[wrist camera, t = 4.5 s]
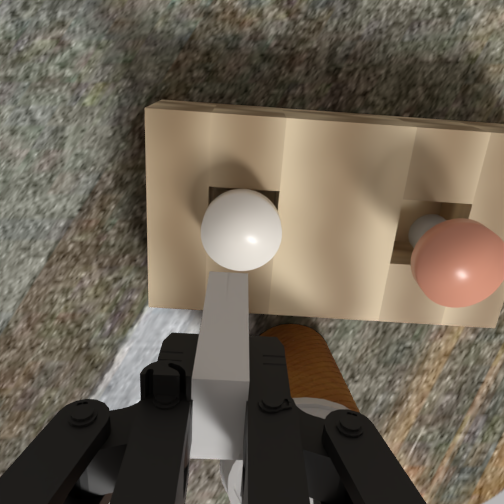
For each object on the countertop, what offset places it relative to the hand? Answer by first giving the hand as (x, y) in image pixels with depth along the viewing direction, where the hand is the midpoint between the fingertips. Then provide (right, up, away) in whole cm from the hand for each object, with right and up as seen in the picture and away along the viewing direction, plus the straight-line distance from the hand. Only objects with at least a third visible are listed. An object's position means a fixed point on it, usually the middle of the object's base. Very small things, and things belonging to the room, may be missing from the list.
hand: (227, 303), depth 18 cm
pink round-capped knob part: (+11, +3, +9) cm, 15 cm away
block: (+6, +5, +13) cm, 15 cm away
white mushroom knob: (0, +5, +11) cm, 12 cm away
